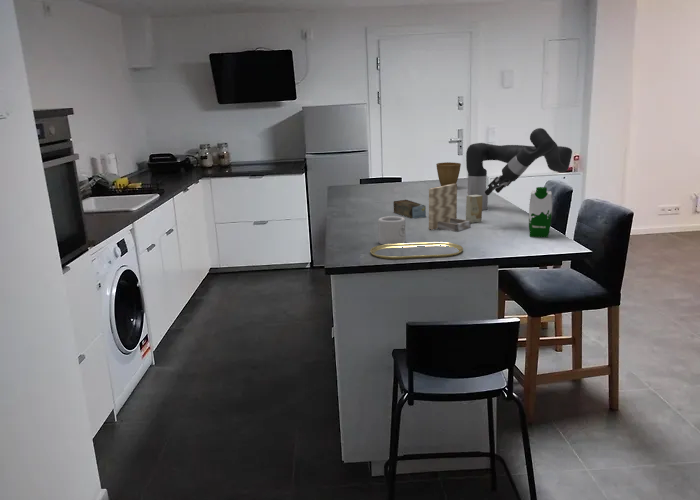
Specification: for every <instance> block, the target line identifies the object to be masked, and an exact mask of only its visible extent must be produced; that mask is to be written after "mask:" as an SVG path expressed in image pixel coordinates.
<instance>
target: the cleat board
mask: <svg viewBox="0 0 700 500" xmlns="http://www.w3.org/2000/svg"><path fill="white" fill-rule="evenodd" d="M457 197H458V184H457V183H456V184H449V185H445V186H441V185H440V186H435V187H431V188H428V230H430V229H431V230H430V231H433V229H434V230H437V228H439V230H444V229H445V230H446V231H450V230H451V232H456V231H457V232H461V231H463V230H467V229H470V228H471V224H472V223H471V221H469V220H466V219H461V218H457V212H458V211H457V209H458V207H457V206H458V198H457ZM445 230H444V231H445Z"/></svg>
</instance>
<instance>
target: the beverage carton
mask: <svg viewBox="0 0 700 500" xmlns="http://www.w3.org/2000/svg"><path fill="white" fill-rule="evenodd" d="M426 209H427V208H426V205H425V204H421V203H418V202H415V201H412V200H408V199H401V200H399V199H398V200H394V201H393V213H395V214H398V215H400V214H401V215H402V216H403V215H404V216H403V217H406V216H407V217H406V218H409V217H410V218H409V219H412V218H414V219H420V218H419V217H422V218H426V214H427V210H426Z"/></svg>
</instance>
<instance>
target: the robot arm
mask: <svg viewBox="0 0 700 500" xmlns="http://www.w3.org/2000/svg"><path fill="white" fill-rule="evenodd" d="M529 140H530V142H531V144H532V145H524V144H523V145H522V144H521V145H520V144H506V145H504V144H503V145H496V144H491V143H485V142H476V143H471V144H470V145H469V146H468V147H467V148H466V149H467V150H466V154H465V157H466V159H465V162H466V163H465V165H466V166H465V167H466V171H467V196H468V195H481V196H483V197H482V211H485V210H488V203H489V202H488V199H489V196H490V195H491V194H492V192H493V191H495V192H496V193H499V194H500V192H501V191H502V190H503V189H504V188H506V187H509V186H510V185H511V184H512V182H516V180H518V179H519V178H520V176H522V175H523V173H525V171H526V170H527V169H528V168H529V167H530V166H531V165H532V164H533V163H534V161H536V160H537V159H539V158H542V157H544V159H545V161H546V164H547V167H548V169H549V170H550V171H553V172H557V173H565V172H567V171H569V167H570V164H571V159H572V157H573V156H572V155H573V150H572V148H570V147H568V146H561V145H560V146H559V145H558V144H557V142H555V140H554V139H553V138H552V137H551V136H550V134H549V133H548V132H547V130H546V129H544V128H543V127H542V128H541V127H539V128H535V129H533V131H532V132H531V133H530V135H529ZM485 161H499V162H502V163H505V166H504V167H503V168H502V169H501V175H499V176H496V177H495V178H494V179H493V180H492V181H490V183H489V184H487V179H488V178H487V176H488V175H487V174H488V173H487V169H486V168H484V162H485ZM487 187H488V188H487Z"/></svg>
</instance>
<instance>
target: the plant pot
mask: <svg viewBox="0 0 700 500" xmlns="http://www.w3.org/2000/svg"><path fill="white" fill-rule="evenodd" d="M461 166H462V164H461V163H460V162H438V163H436V171H437V177H438V181H439V184H440V186H445V185H449V184H457V182H458V180H459V175H460V171H461Z"/></svg>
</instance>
